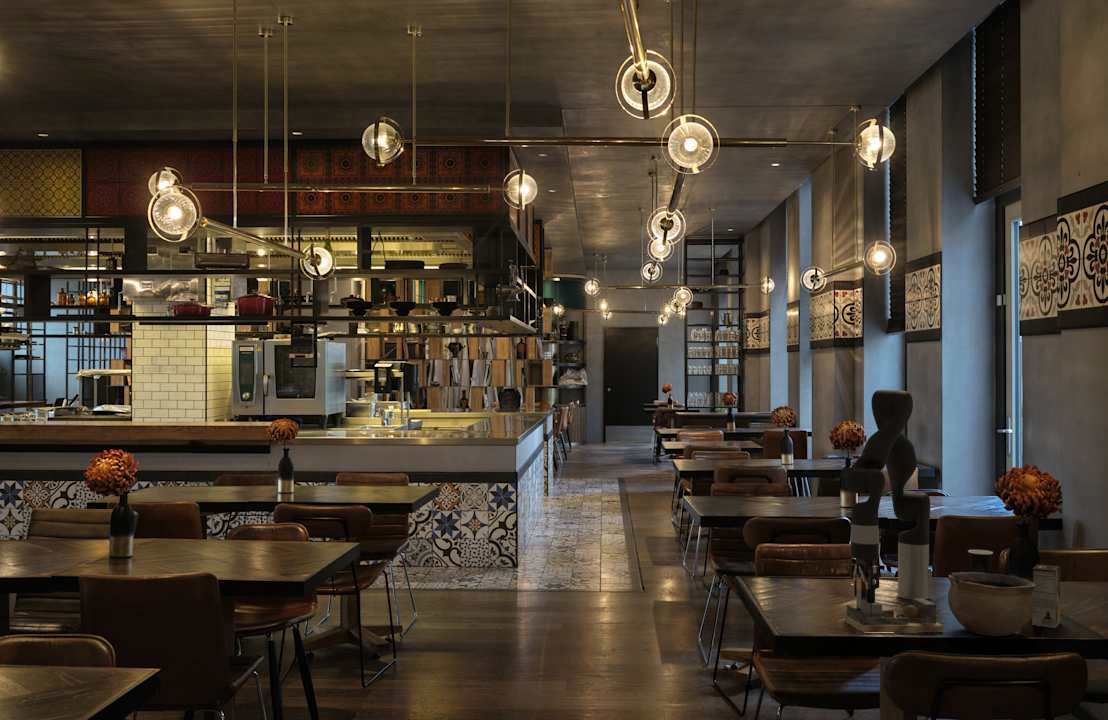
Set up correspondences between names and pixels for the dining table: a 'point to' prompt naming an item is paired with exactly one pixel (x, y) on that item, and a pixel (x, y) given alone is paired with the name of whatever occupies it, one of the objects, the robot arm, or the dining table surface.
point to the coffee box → (1046, 595)
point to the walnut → (910, 611)
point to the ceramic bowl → (990, 602)
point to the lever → (868, 608)
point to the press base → (897, 620)
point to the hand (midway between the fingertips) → (864, 599)
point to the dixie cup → (980, 560)
